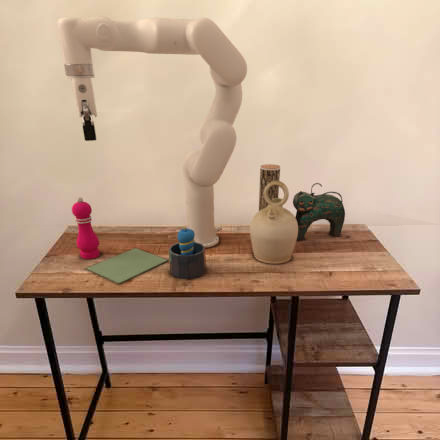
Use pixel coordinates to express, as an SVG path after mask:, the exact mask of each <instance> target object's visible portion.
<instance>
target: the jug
mask: <svg viewBox="0 0 440 440" xmlns="http://www.w3.org/2000/svg"><path fill="white" fill-rule="evenodd" d="M273 186H279V188H280V189H281V190H282V191H283V198H281V197H278V198H273V199H272V200H271V199H270V197H269V190H270V188H271V187H273ZM289 196H290V192H289V188H288V187H287V185H286V184H285V183H284V182H283V181H281V180H279V181H278V180H276V181H272V182H270V183H269V184H267V186H266V187H265V189H264V199H265V201H266V202H267V203H268V206H267V207H266V208H263V209H262V210H260V211H259V210H258V211H257V212H256V213H255V214H254V215H253V217H252V219H251V222H250V225H249V235H250V242H251V247H252V252H253V255H254V257H255V259H256V260H258V261H259V262H261V263H264V264H268V265H270V264H271V265H279V264H280V265H281V264H284V263H287V262H289V261H290V260H291V259H292V255H293V253H294V251H295V248H296V247H295V246H296V243H297V236H298V223H297V220H296V218H295V217H296V215H294V214H293V213H292V211H290V210H288V209H287V208H285V207H283V205H285V204H286V203H287V202H288V200H289Z"/></svg>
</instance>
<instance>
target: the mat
mask: <svg viewBox="0 0 440 440" xmlns="http://www.w3.org/2000/svg"><path fill="white" fill-rule="evenodd" d="M168 261H169V259H166V258H163V257H160V256H158V255H155V254H153V253H150V252H147V251H144V250H142V249H139V248H136V247H134V248H132V249H130V250H127V251H125V252H122V253H120V254H117V255H115V256H113V257H109V258H108V259H105V260H102V261H100V262H98V263H95V264H93V265H91V266H88V267H86V270H87V271H90V272H91V273H94V274H96V275H99V276H101V277H103V278H105V279H107V280H109V281H111V282H114V283H116V284H118V285H120V284H122V283H125V282H126V281H130V280H131V279H133V278H135V277H138V276H140V275H141V274H144V273H146V272H148V271H150V270H152V269H154V268H156V267H158V266H160V265H163V264H165V263H167V262H168Z"/></svg>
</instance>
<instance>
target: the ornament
mask: <svg viewBox="0 0 440 440" xmlns="http://www.w3.org/2000/svg"><path fill="white" fill-rule="evenodd" d="M194 236H195V233H194V231H193V230H191V229H188V226H183V228H181V229H179V231H178V233H177V241H178V243H179V247H180V249H181V255H192V254H193V251H194V247H193V246H194V243H195V240H194Z"/></svg>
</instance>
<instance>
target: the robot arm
mask: <svg viewBox="0 0 440 440" xmlns="http://www.w3.org/2000/svg"><path fill="white" fill-rule="evenodd" d="M56 24H57V26H56V27H57V33H58V37H59V43H60V49H61V54H62V59H63V66H64V72H65V78H66V79H71V85H72V91H73V96H74V100H75V105H76V110H77V112H78V116H79V118H81V122H82V132H83V137H84V141H86V142H92V141H93V142H94V141H97V134H96V128H95V123H94V120H93V116H94V118H97V117H98V112H97V105H96V99H95V98H96V97H95V92H94V87H93V82H92V79H93V78H95V77H96V75H95V67H94V62H93V57H92V55H93V54H92V49H95V50H99V51H102V52H103V51H104V52H128V53H129V52H132V53H133V52H134V53H145V54H151V55H153V54H154V55H157V54H158V55H187V56H188V55H191V56H196V55H197V56H198V55H200V57H201V58H202V60H204V62H205V63H206V64H207V65H208V66H209V74H210V76H211V78H212V80H213V83H214V87H215V93H214V98H213V100H212V103H211V106H210V108H209V109H208V111H207V114H206V116H205V119H204V121H203V122H202V125H201V127H200V130H199V134H198V137H199V140H200V142H201V144H202V145H201V147H200V149H193V150H190V151H188V153H187V154H186V155H185V157H184V159H183V162H182V171H183V179H184V180H183V181H184V184H185V185H184V186H185V187H184V188H185V203H186V223H187V228H188V229H191V230H193V231H194V233H195V236H194V240H195V242H197V243H200V244H203V246H204V247H205V249H207V248H211V247H215V246H216V245H218V244H219V242H220V238H219V236H218V235H217V233H218V232H221V231H222V230H223V226H222V225H220V224H218V225H217V226H215V188H214V185H215V184H216V183H217V182H218V181H219V180H220V178H221V176H222V175H223V173H224V170H225V169H226V167H227V165H228V163H229V161H230V158H231V157H232V155H233V152H234V150H235V147H236V145H237V131H236V129H235V128H234V126H233V125H234V123H235V121H236V119H237V117H238V114H239V112H240V109H241V106H242V102H243V86H242V83H243V81H245V78H246V77H247V73H248V65H247V61H246V59H245V57H244V56H243V54H242V53H241V52H240V50H239V49H238V48H237V47H236V45H234V44H233V42H232V41H231V40H230V39H229V38H228V36H227V35H226V34H225V33H224V32H223V31H222V29H221V28H220V27H219V26H218V24H216V23H215V22H214V21H213V20H212V19H210V18H208V17H203V16H202V17H198V18H195V19H194V18H193V19H191V18H189V19H188V18H169V17H147V18H143V19H138V20H137V19H136V20H112V19H111V18H109V17H107V16H103V15H102V16H101V15H100V16H93V17H84V18H82V17H76V16H75V17H74V16H64V17H60V18H59V19H58V20H57V23H56Z"/></svg>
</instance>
